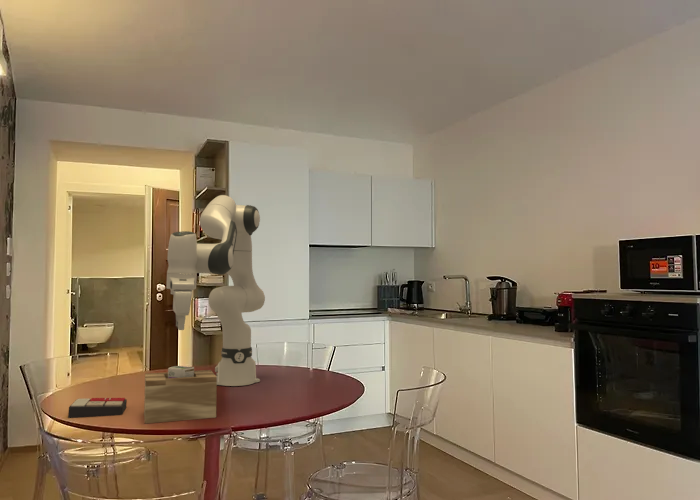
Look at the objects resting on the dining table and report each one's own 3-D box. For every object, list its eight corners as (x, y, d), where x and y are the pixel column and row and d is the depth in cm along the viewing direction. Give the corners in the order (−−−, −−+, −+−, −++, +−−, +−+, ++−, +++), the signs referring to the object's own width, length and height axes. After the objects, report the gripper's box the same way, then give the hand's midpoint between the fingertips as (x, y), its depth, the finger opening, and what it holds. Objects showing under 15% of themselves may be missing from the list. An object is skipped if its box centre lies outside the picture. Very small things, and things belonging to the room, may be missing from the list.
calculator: (122, 404, 166) (68, 404, 161) (121, 418, 165) (67, 419, 161) (127, 396, 176) (76, 396, 172) (126, 410, 176) (75, 410, 172)
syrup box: (165, 416, 164) (166, 367, 165) (178, 411, 169) (179, 364, 170) (181, 417, 162) (182, 368, 162) (193, 413, 167) (194, 365, 168)
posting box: (144, 412, 168) (145, 373, 169) (210, 407, 175) (210, 369, 176) (144, 423, 155) (145, 381, 156) (216, 417, 162) (216, 376, 163)
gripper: (169, 282, 176) (167, 325, 175) (172, 284, 157) (170, 332, 156) (189, 282, 178) (188, 324, 178) (195, 284, 159) (193, 331, 159)
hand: (180, 328), depth 167 cm, fingers open, 8 cm apart
